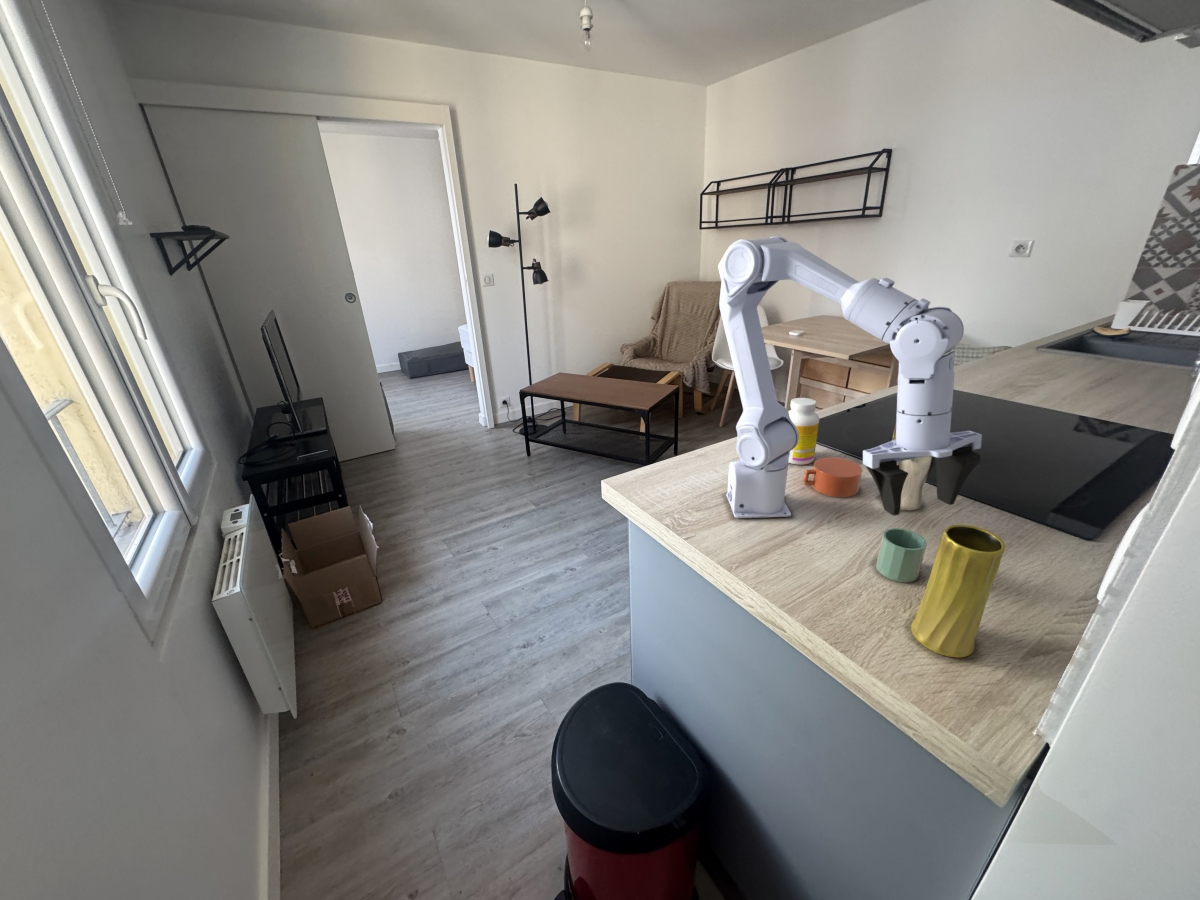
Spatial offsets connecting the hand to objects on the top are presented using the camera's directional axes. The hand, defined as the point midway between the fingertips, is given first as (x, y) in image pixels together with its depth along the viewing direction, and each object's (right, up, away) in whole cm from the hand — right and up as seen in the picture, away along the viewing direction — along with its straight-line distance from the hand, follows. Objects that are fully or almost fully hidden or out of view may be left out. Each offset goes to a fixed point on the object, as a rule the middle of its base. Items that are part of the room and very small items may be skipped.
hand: (918, 506), depth 63 cm
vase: (-3, -15, -8) cm, 17 cm away
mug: (+1, +1, +25) cm, 25 cm away
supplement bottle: (-1, +6, +36) cm, 36 cm away
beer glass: (+10, -2, +19) cm, 21 cm away
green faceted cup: (-1, -9, +3) cm, 10 cm away
